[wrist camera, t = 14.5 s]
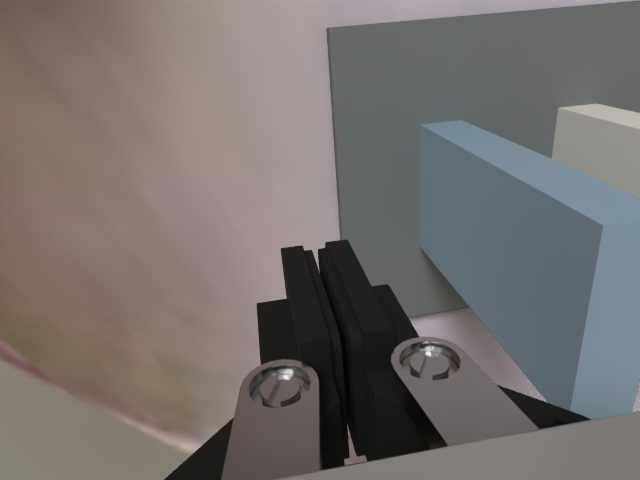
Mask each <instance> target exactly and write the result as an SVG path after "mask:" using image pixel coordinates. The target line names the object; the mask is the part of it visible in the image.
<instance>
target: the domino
mask: <svg viewBox="0 0 640 480" xmlns="http://www.w3.org/2000/svg"><path fill="white" fill-rule="evenodd" d="M552 159H553V160H556V161H558V162H560V163H563V164H565V165H567V166H570V167H572V168H574V169H577V170H579V171H581V172H584V173H586V174H588V175H591V176H593V177H595V178H598V179H600V180H603V181H605V182H607V183H610V184H612V185H614V186H617V187H619V188H621V189H624V190H626V191H628V192H631V193H633V194H635V195H638V196H640V113H637V112H633V111H628V110H624V109H619V108H615V107H610V106H606V105H601V104H588V105H579V106H570V107H561V108H558V113H557V121H556V129H555V137H554V145H553V153H552Z"/></svg>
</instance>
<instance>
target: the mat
mask: <svg viewBox="0 0 640 480" xmlns="http://www.w3.org/2000/svg"><path fill="white" fill-rule="evenodd" d="M327 43H328V58H329V73H330V88H331V103H332V119H333V134H334V149H335V164H336V179H337V195H338V210H339V225H340V240H346V239H347V240H348V241H349V243H350V245H351V247H352V249H353V251H354V253H355V255H356V257H357V259H358V261H359V263H360V264H361V266H362V268H363V270H364V272H365V274H366V276H367V278H368V280H369V282H370V284H371V286H377V285H384V284H388V285H389V286H390V287H391V289H392V291H393V293H394V294H395V296H396V298H397V300H398V301H399V303H400V305H401V306H402V308H403V310H404V312H405V313H406V315H407V317H412V316H419V315H425V314H432V313H438V312H444V311H451V310H457V309H464V308H470V307H469V306H468V304H467V303H466V302H465V301H464V300H463V298H462V297H461V296H460V295H459V293H458V292H457V291H456V290H455V289H454V287H453V286H452V285H451V284H450V282H449V281H448V280H447V279H446V278H445V276H444V275H443V274H442V273H441V271H440V270H439V269H438V268H437V267H436V265H435V264H434V263H433V262H432V260H431V259H430V258H429V257H428V256H427V254H426V253H425V252H424V251H423V250H422V248H421V247H420V246H419V230H420V125H422V124H431V123H440V122H448V121H457V120H462V121H465V122H467V123H469V124H472V125H474V126H476V127H479V128H481V129H483V130H486V131H488V132H490V133H493V134H495V135H497V136H500V137H502V138H504V139H507V140H509V141H511V142H514V143H516V144H518V145H521V146H523V147H525V148H528V149H530V150H532V151H535V152H537V153H539V154H542V155H544V156H546V157H549V158H551V159H552V153H553V145H554V137H555V129H556V121H557V113H558V108H561V107H570V106H579V105H588V104H601V105H606V106H610V107H615V108H619V109H624V110H628V111H633V112H637V113H640V1H630V2H619V3H607V4H596V5H585V6H573V7H562V8H550V9H539V10H528V11H516V12H505V13H493V14H482V15H471V16H459V17H448V18H436V19H425V20H414V21H402V22H391V23H379V24H368V25H357V26H345V27H334V28H327Z"/></svg>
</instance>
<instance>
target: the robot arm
mask: <svg viewBox="0 0 640 480" xmlns="http://www.w3.org/2000/svg"><path fill="white" fill-rule="evenodd" d="M281 255H282V263H283V271H284V279H285V288H286V296H287V299H282V300H275V301H268V302H262V303H257V316H258V330H259V345H260V360H261V365H260V366H258V367H257V368H255V369H254V370H252V371H251V372H250V373H249V374H248V375H247V376H246V377H245V378H244V380H243V382H242V384H241V387H240V391H239V396H238V400H237V405H236V410H235V415H234V418H232V419H231V420H230V421H229V422H228V423H227V424H226V425H225V426H224V427H222V428H221V429H220V430H219V431H218V432H217V433H216V434H215V435H213V436H212V437H211V438H210V439H209V440H208V441H207V442H206V443H205V444H203V445H202V446H201V447H200V448H199V449H198V450H197V451H196V452H195V453H193V454H192V455H191V456H190V457H189V458H188V459H187V460H186V461H185V462H183V463H182V464H181V465H180V466H179V467H178V468H177V469H176V470H174V471H173V472H172V473H171V474H170V475H169V476H168V477H167V478H166V479H164V480H640V411H637V412H631V413H626V414H620V415H615V416H609V417H604V418H598V419H593V420H592V419H590V418H587V417H585V416H583V415H580V414H578V413H575V412H572V411H569V410H566V409H564V408H561V407H558V406H555V405H552V404H549V403H547V402H544V401H541V400H538V399H535V398H532V397H530V396H527V395H524V394H521V393H518V392H516V391H513V390H510V389H507V388H504V387H501V386H499V385H496V384H495V383H494V382H493V381H492V380H491V379H490V378H489V377H488V375H487V374H486V373H485V372H484V371H483V370H482V369H481V368H480V367H479V366H478V365H477V364H476V363H475V362H474V361H473V360H472V359H471V358H470V357H469V356H468V355H467V354H466V353H465V352H464V351H463V350H462V349H461V348H460V347H458V346H457V345H456V344H454V343H451V342H449V341H447V340H444V339H440V338H435V337H419V336H418V334H417V332H416V330H415V329H414V327H413V325H412V324H411V322H410V320H409V318H408V317H407V315H406V313H405V312H404V310H403V308H402V306H401V305H400V303H399V301H398V300H397V298H396V296H395V294H394V293H393V291H392V289H391V287H390V286H389V285H388V284H384V285H377V286H371V284H370V282H369V280H368V278H367V276H366V274H365V272H364V270H363V268H362V266H361V264H360V263H359V261H358V259H357V257H356V255H355V253H354V251H353V249H352V247H351V245H350V243H349V241H348V240H347V239H346V240H339V241H332V242H326V244H325V248H322V249H318V259H319V270H320V273H319V270H318V267H317V264H316V261H315V258H314V255H313V252H312V250H308V251H304V249H303V246H295V247H288V248H281ZM347 424H348V427H349V431H350V435H351V438H352V442H353V445H354V449H355V453H356V455H357V456H362V455H366V458H367V462H362V463H356V464H351V465H346V466H344V459H346V458H349V443H348V429H347Z"/></svg>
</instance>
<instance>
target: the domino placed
mask: <svg viewBox="0 0 640 480" xmlns="http://www.w3.org/2000/svg"><path fill="white" fill-rule="evenodd" d="M419 246H420V247H421V248H422V250H423V251H424V252H425V253H426V254H427V256H428V257H429V258H430V259H431V260H432V262H433V263H434V264H435V265H436V267H437V268H438V269H439V270H440V271H441V273H442V274H443V275H444V276H445V278H446V279H447V280H448V281H449V282H450V284H451V285H452V286H453V287H454V289H455V290H456V291H457V292H458V293H459V295H460V296H461V297H462V298H463V300H464V301H465V302H466V303H467V304H468V306H469V307H470V308H471V309H472V311H473V312H474V313H475V314H476V315H477V317H478V318H479V319H480V320H481V322H482V323H483V324H484V325H485V326H486V328H487V329H488V330H489V331H490V332H491V334H492V335H493V336H494V337H495V339H496V340H497V341H498V342H499V343H500V345H501V346H502V347H503V348H504V350H505V351H506V352H507V353H508V354H509V356H510V357H511V358H512V359H513V361H514V362H515V363H516V364H517V365H518V367H519V368H520V369H521V370H522V372H523V373H524V374H525V375H526V376H527V378H528V379H529V380H530V381H531V383H532V384H533V385H534V386H535V387H536V389H537V390H538V391H539V392H540V394H541V395H542V396H543V397H544V398H545V400H546V401H547V402H548V403H549V404H552V405H555V406H558V407H561V408H564V409H566V410H569V411H572V412H575V413H578V414H580V415H583V416H585V417H587V418H590V419H592V420H593V419H598V418H604V417H609V416H615V415H620V414H626V413H631V412H632V410H633V406H634V402H635V398H636V394H637V390H638V386H639V382H640V196H638V195H635V194H633V193H631V192H628V191H626V190H624V189H621V188H619V187H617V186H614V185H612V184H610V183H607V182H605V181H603V180H600V179H598V178H595V177H593V176H591V175H588V174H586V173H584V172H581V171H579V170H577V169H574V168H572V167H570V166H567V165H565V164H563V163H560V162H558V161H556V160H553V159H551V158H549V157H546V156H544V155H542V154H539V153H537V152H535V151H532V150H530V149H528V148H525V147H523V146H521V145H518V144H516V143H514V142H511V141H509V140H507V139H504V138H502V137H500V136H497V135H495V134H493V133H490V132H488V131H486V130H483V129H481V128H479V127H476V126H474V125H472V124H469V123H467V122H465V121H462V120H457V121H448V122H440V123H431V124H422V125H420V230H419Z"/></svg>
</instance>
